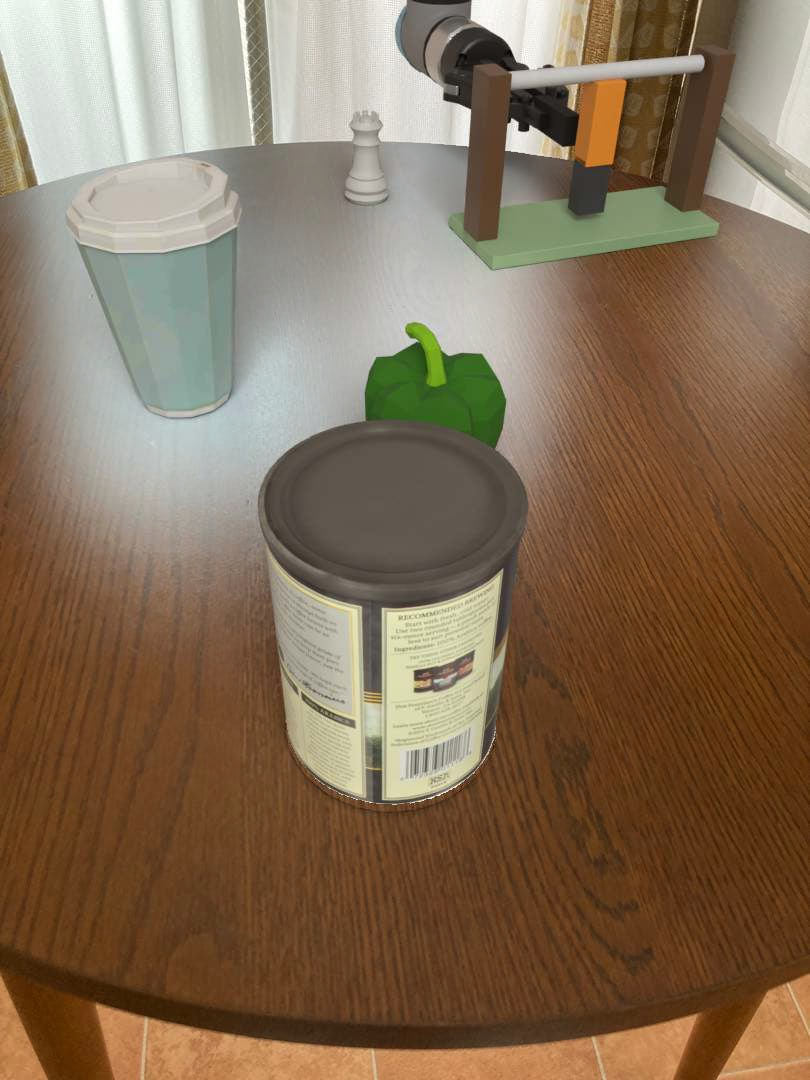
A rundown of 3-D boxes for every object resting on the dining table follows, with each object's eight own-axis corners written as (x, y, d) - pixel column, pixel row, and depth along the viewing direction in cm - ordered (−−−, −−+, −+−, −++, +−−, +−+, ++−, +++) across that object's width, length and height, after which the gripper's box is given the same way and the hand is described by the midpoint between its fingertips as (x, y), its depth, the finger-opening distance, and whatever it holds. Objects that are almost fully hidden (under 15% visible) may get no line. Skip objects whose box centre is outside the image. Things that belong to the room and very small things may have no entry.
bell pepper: (512, 512, 56) (530, 370, 50) (379, 528, 55) (380, 384, 48) (477, 434, 62) (488, 298, 56) (357, 447, 61) (354, 309, 54)
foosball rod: (664, 193, 90) (693, 51, 82) (677, 203, 88) (709, 58, 80) (489, 217, 85) (501, 68, 76) (500, 228, 83) (514, 76, 75)
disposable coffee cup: (166, 456, 60) (123, 233, 50) (77, 392, 65) (22, 179, 55) (290, 394, 66) (274, 183, 56) (198, 339, 71) (169, 139, 61)
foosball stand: (660, 197, 95) (693, 35, 85) (717, 235, 88) (760, 64, 78) (448, 226, 88) (457, 54, 78) (492, 270, 81) (508, 88, 71)
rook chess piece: (370, 186, 95) (370, 104, 90) (397, 199, 93) (399, 116, 87) (335, 196, 93) (333, 112, 88) (362, 210, 91) (361, 125, 85)
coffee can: (378, 612, 50) (378, 389, 40) (538, 711, 45) (580, 484, 36) (237, 730, 44) (199, 501, 34) (404, 859, 39) (413, 633, 30)
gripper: (519, 94, 107) (625, 164, 90) (414, 104, 103) (504, 179, 87) (526, 22, 102) (639, 82, 85) (416, 30, 98) (512, 94, 82)
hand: (571, 131), depth 86 cm, fingers closed
